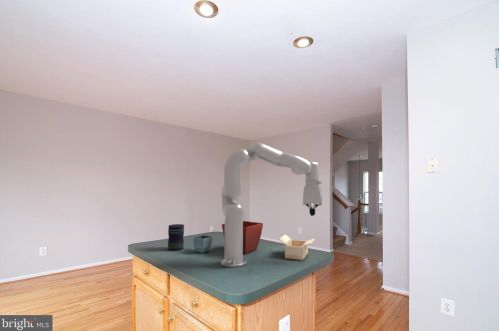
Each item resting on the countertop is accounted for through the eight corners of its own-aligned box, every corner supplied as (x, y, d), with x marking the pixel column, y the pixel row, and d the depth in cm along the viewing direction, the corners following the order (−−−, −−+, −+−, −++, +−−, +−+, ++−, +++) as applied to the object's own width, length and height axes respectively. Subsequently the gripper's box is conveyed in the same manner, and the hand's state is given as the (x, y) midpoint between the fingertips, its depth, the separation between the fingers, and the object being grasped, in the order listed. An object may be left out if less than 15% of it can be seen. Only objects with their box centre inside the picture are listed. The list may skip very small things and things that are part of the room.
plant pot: (245, 257, 138) (245, 227, 139) (220, 251, 149) (220, 223, 150) (263, 250, 153) (263, 223, 154) (240, 245, 164) (240, 220, 166)
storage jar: (186, 247, 159) (187, 224, 160) (178, 251, 149) (179, 226, 151) (172, 246, 161) (173, 223, 162) (164, 250, 152) (165, 226, 153)
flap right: (303, 245, 134) (303, 246, 134) (310, 243, 132) (310, 244, 132) (307, 240, 146) (307, 241, 146) (314, 238, 145) (314, 239, 145)
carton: (302, 260, 132) (302, 247, 132) (284, 258, 136) (284, 245, 136) (308, 252, 147) (307, 240, 148) (291, 250, 151) (291, 239, 152)
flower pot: (212, 251, 151) (212, 236, 152) (202, 254, 143) (203, 238, 144) (202, 249, 156) (202, 234, 156) (192, 252, 148) (192, 237, 149)
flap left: (279, 238, 139) (278, 239, 140) (285, 243, 138) (284, 244, 138) (285, 234, 152) (285, 234, 152) (290, 239, 150) (290, 239, 150)
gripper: (326, 183, 141) (326, 215, 140) (300, 183, 147) (300, 214, 146) (324, 183, 134) (325, 217, 133) (297, 183, 140) (298, 215, 139)
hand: (312, 215), depth 139 cm, fingers closed
